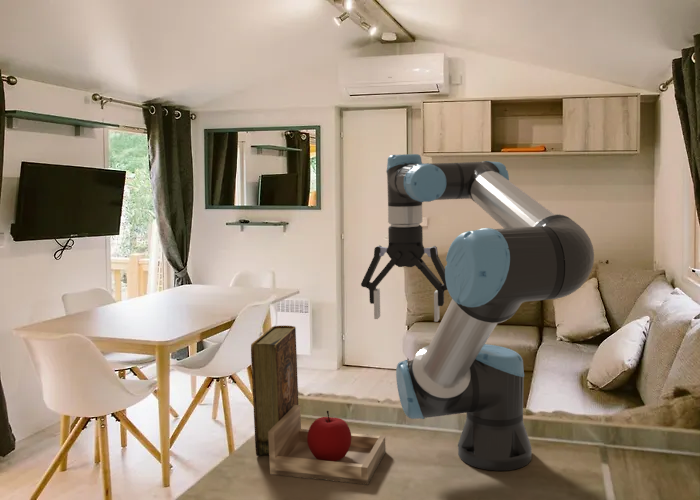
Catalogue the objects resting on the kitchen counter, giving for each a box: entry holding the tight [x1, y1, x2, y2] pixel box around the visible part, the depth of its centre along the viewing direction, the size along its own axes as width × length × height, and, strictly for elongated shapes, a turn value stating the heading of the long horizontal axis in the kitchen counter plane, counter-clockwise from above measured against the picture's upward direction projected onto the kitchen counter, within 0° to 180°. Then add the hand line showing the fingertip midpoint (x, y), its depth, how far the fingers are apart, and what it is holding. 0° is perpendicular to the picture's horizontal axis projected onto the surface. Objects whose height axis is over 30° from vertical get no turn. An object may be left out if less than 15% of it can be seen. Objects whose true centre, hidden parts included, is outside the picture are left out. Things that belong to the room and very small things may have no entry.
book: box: [250, 325, 299, 457], centre depth 155 cm, size 16×6×25 cm, turn 169°
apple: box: [307, 410, 352, 462], centre depth 145 cm, size 9×9×10 cm
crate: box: [268, 404, 387, 486], centre depth 145 cm, size 20×15×9 cm
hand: (406, 319), depth 157 cm, fingers open, 13 cm apart
